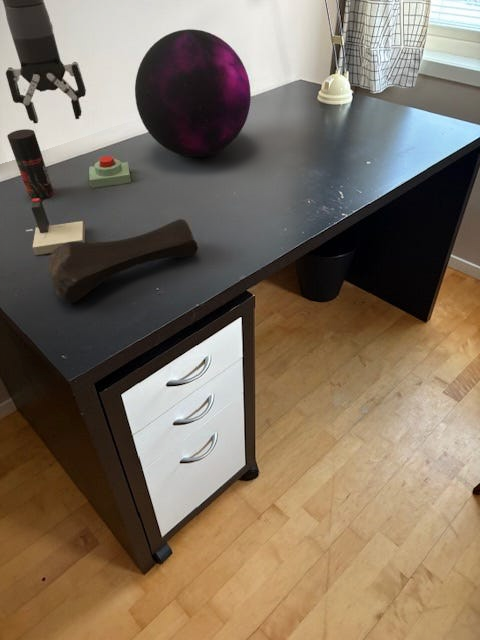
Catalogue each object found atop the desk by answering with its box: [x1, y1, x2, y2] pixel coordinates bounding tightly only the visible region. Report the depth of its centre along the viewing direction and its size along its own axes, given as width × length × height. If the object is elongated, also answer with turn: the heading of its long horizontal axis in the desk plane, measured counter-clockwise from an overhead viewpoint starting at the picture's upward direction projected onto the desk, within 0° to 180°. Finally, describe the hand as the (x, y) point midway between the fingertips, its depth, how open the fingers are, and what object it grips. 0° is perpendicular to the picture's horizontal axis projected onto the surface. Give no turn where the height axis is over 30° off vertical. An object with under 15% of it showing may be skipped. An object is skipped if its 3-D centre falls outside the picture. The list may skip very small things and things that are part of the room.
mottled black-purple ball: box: [134, 28, 252, 158], centre depth 125 cm, size 30×30×30 cm
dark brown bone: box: [48, 218, 199, 304], centre depth 90 cm, size 11×10×28 cm
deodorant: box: [7, 128, 55, 201], centre depth 114 cm, size 6×6×15 cm
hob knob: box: [30, 198, 50, 233], centre depth 100 cm, size 4×2×6 cm, turn 14°
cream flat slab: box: [25, 220, 86, 256], centre depth 102 cm, size 12×11×2 cm
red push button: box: [98, 155, 115, 168], centre depth 121 cm, size 4×4×2 cm
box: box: [88, 158, 132, 189], centre depth 123 cm, size 10×8×4 cm
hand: (57, 120), depth 101 cm, fingers open, 8 cm apart
